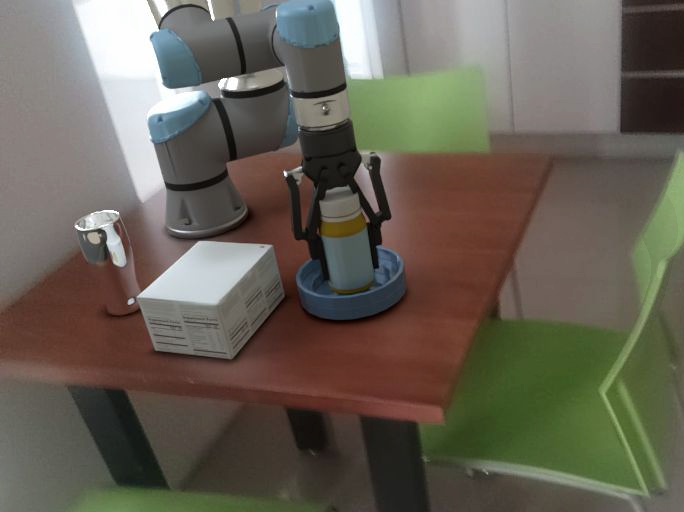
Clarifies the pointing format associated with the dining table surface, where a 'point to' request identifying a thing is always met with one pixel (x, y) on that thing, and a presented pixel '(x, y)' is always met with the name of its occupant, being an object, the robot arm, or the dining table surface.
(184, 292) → the supplement box
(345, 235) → the bottle
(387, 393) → the dining table surface
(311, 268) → the bowl
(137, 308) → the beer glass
